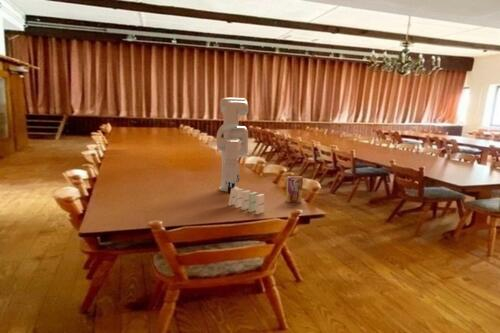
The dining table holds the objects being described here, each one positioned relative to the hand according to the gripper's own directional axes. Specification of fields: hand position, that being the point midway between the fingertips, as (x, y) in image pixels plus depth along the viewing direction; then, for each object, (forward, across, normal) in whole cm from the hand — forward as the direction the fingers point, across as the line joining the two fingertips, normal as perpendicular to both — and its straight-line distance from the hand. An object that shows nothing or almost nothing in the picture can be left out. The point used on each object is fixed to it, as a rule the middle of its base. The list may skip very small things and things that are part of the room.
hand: (230, 193), depth 197 cm
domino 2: (+6, +6, 0) cm, 9 cm away
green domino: (+6, +16, 0) cm, 18 cm away
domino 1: (+6, +2, 0) cm, 6 cm away
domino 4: (+6, +22, 0) cm, 22 cm away
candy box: (+6, +21, +33) cm, 40 cm away
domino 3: (+6, +12, 0) cm, 13 cm away
